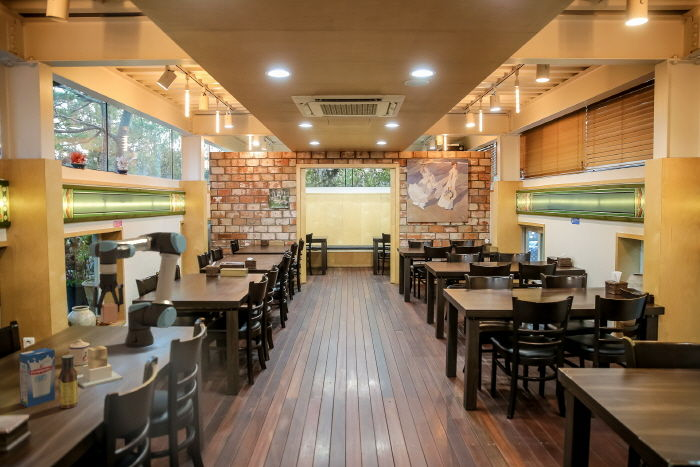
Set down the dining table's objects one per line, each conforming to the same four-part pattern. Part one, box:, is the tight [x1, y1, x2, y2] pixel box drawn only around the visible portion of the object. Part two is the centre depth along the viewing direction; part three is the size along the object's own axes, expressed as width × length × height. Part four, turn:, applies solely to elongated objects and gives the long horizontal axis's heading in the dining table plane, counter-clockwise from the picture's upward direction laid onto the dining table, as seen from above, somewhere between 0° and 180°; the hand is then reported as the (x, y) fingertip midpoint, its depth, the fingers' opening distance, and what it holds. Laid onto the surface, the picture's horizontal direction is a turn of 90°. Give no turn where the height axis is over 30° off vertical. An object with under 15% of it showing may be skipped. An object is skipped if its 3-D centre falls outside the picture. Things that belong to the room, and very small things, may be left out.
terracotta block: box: [101, 302, 118, 324], centre depth 233 cm, size 6×6×8 cm
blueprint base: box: [77, 362, 124, 389], centre depth 217 cm, size 16×16×6 cm
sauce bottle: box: [58, 354, 79, 409], centre depth 187 cm, size 7×6×20 cm
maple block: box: [87, 345, 108, 369], centre depth 217 cm, size 6×6×8 cm
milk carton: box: [19, 347, 56, 408], centre depth 191 cm, size 10×6×20 cm, turn 148°
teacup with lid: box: [68, 339, 91, 367], centre depth 240 cm, size 12×9×12 cm
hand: (108, 320), depth 233 cm, fingers closed on terracotta block, 6 cm apart
